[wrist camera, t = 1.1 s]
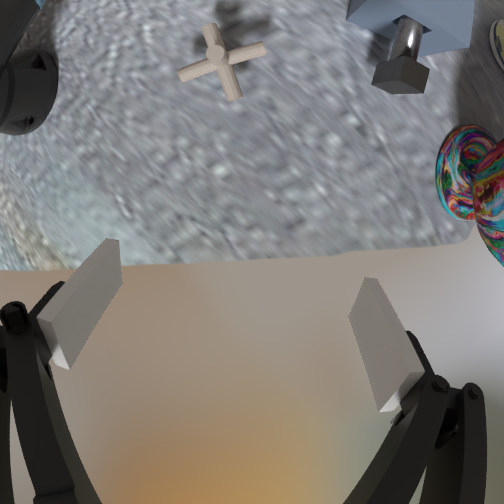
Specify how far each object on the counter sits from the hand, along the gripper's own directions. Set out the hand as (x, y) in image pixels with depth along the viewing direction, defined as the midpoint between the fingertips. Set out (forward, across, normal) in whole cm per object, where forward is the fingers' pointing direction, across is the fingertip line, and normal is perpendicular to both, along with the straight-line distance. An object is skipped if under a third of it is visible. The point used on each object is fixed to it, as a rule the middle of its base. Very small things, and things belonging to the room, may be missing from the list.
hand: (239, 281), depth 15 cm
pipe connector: (+27, -6, +14) cm, 31 cm away
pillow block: (+27, +15, +28) cm, 41 cm away
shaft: (+23, +15, +26) cm, 38 cm away
